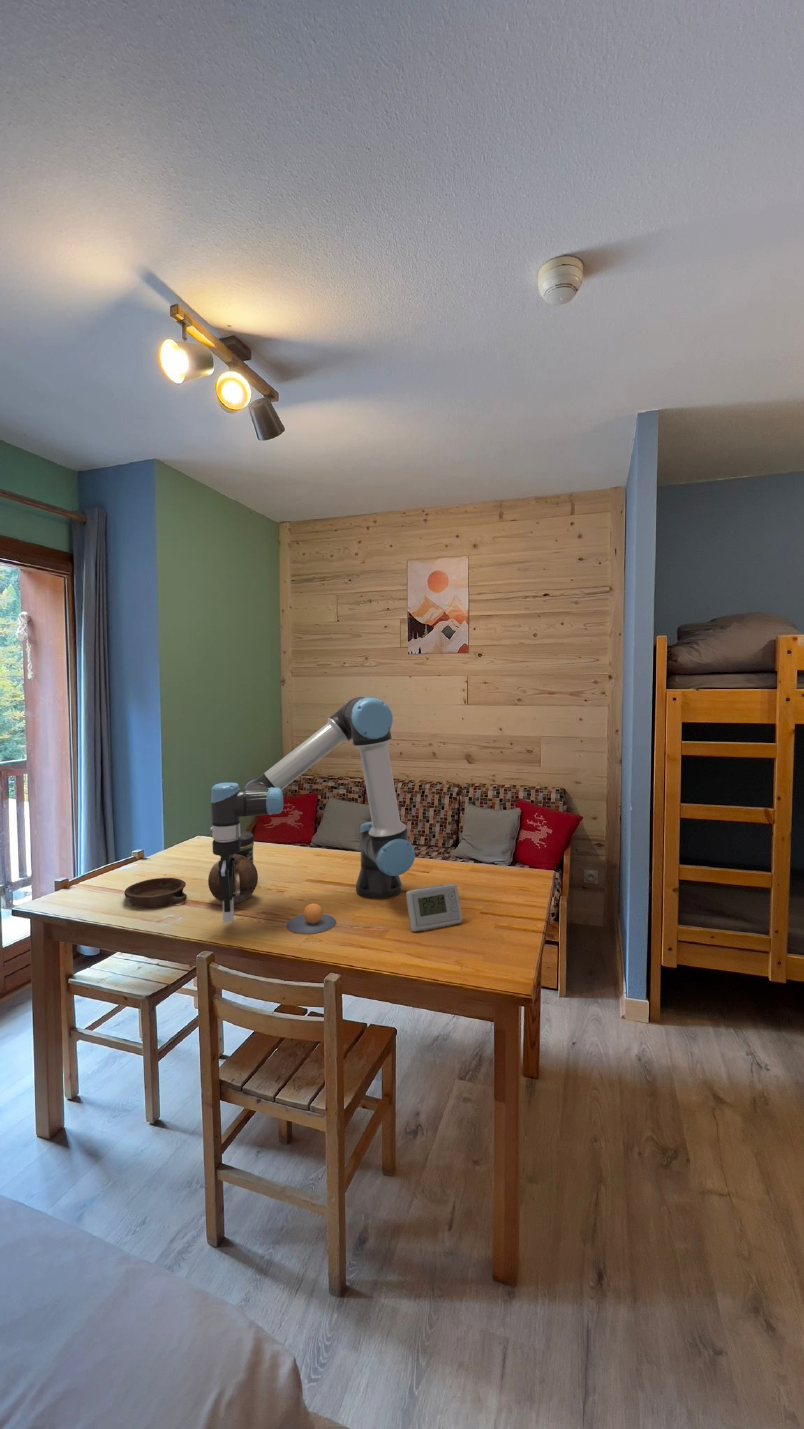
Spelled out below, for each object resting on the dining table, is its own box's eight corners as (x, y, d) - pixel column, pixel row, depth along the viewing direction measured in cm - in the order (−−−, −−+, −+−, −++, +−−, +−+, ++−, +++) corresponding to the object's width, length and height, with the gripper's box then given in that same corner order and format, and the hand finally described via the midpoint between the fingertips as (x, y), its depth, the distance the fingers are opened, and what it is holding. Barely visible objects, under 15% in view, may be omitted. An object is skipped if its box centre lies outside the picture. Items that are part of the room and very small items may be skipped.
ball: (302, 902, 172) (304, 920, 173) (302, 909, 167) (304, 928, 167) (321, 899, 173) (323, 917, 173) (321, 906, 168) (324, 925, 168)
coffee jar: (244, 893, 195) (243, 837, 194) (223, 891, 197) (221, 836, 196) (258, 883, 205) (257, 830, 204) (237, 881, 207) (236, 828, 206)
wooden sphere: (219, 893, 195) (218, 848, 194) (264, 894, 194) (263, 848, 193) (201, 911, 180) (199, 862, 179) (249, 911, 179) (248, 862, 178)
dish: (144, 889, 200) (143, 875, 200) (202, 894, 195) (202, 879, 195) (107, 908, 183) (106, 893, 183) (170, 914, 178) (169, 898, 178)
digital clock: (409, 934, 162) (409, 896, 162) (403, 921, 171) (402, 885, 171) (466, 929, 165) (466, 891, 165) (457, 916, 174) (457, 880, 174)
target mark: (335, 913, 177) (335, 912, 177) (335, 932, 164) (335, 931, 164) (288, 915, 176) (288, 914, 176) (284, 935, 162) (284, 934, 162)
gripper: (217, 833, 172) (219, 913, 173) (207, 845, 159) (209, 931, 160) (243, 832, 173) (245, 911, 174) (236, 844, 160) (238, 930, 161)
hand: (228, 921), depth 167 cm, fingers closed
